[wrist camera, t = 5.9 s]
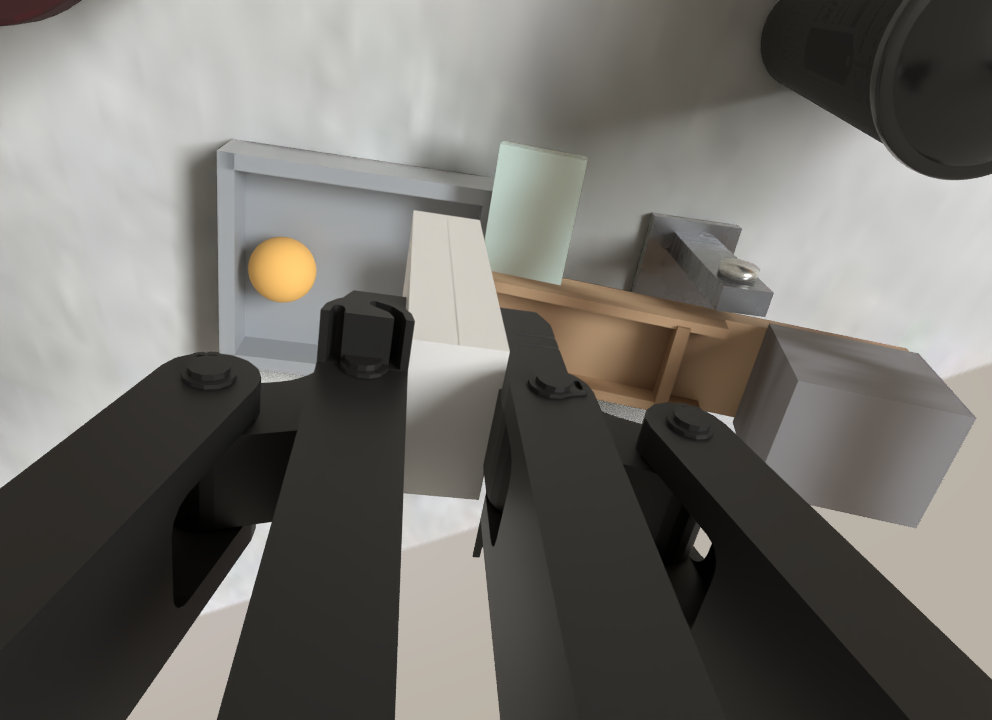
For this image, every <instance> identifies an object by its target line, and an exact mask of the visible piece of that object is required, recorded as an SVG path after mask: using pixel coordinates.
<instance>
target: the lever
mask: <svg viewBox="0 0 992 720" xmlns="http://www.w3.org/2000/svg"><path fill="white" fill-rule="evenodd" d="M587 162H588V157H586V156H580V155H575V154H570V153H565V152H560V151H555V150H550V149H545V148H539V147H534V146H529V145H524V144H519V143H514V142H509V141H504V140H503V141H502V142H501V144H500V148H499V154H498V161H497V167H496V173H495V179H494V185H493V191H492V198H491V204H490V210H489V216H488V222H487V229H486V235H485V245H486V250H487V254H488V258H489V263H490V267H491V271H492V276H493V280H494V285H495V289H496V293H497V298H498V302H499V306H500V307H501V308H508V309H516V310H523V311H531V312H536V313H538V314H539V315H540V316H541V317H542V318H543V319H544V320H546V321H547V322H548V323H549V324H550V325H551V328H552V330H553V333H554V336H555V340H556V341H557V344H558V347H559V350H560V352H561V355H562V358H563V361H564V363H565V366H566V369H567V372H568V373H569V374H571V375H574V376H576V377H578V378H579V379H581V380H582V381H584V382H585V383H587V384H588V385H589V387H590V388H591V389H592V391H593V392H594V394H595V397H596V399H598V400H603V401H607V402H612V403H617V404H621V405H626V406H631V407H635V408H640V409H645V410H647V409H648V408H650V407H651V406H652V405H654V404H659V403H665V402H668V403H685V404H689V406H691V405H693V406H696V407H699V408H701V409H702V410H703V411H707V412H712V413H717V414H721V415H726V416H731V417H735V418H734V420H733V425H734V428H735V432H736V435H737V436H738V437H739V438H740V439H741V440H742V441H743V442H744V443H745V444H746V445H748V446H749V447H750V448H751V449H752V450H753V451H754V452H755V453H756V454H757V455H758V456H759V457H760V458H761V459H762V460H763V461H764V462H765V463H766V464H767V465H768V466H769V467H770V468H772V469H773V470H774V471H775V472H776V473H777V474H778V475H779V476H780V477H781V478H782V479H783V480H784V481H785V482H786V483H787V484H788V485H789V486H790V487H791V488H792V489H793V490H795V491H796V492H797V493H798V494H799V495H800V496H801V497H802V498H803V499H804V500H805V501H806V502H807V503H808V504H809V505H813V506H817V507H822V508H827V509H831V510H836V511H840V512H845V513H849V514H854V515H859V516H863V517H867V518H872V519H877V520H881V521H886V522H890V523H895V524H899V525H904V526H908V527H913V528H917V526H918V524H919V522H920V520H921V518H922V517H923V515H924V512H925V511H926V509H927V507H928V506H929V504H930V502H931V500H932V498H933V496H934V494H935V493H936V490H937V489H938V487H939V485H940V484H941V482H942V480H943V478H944V476H945V474H946V473H947V471H948V469H949V467H950V465H951V463H952V462H953V460H954V458H955V456H956V454H957V452H958V451H959V449H960V447H961V445H962V443H963V441H964V440H965V438H966V436H967V434H968V432H969V430H970V429H971V426H972V425H973V423H974V421H975V419H976V417H975V416H974V415H973V414H972V413H971V412H970V410H969V409H968V408H967V407H966V406H965V405H964V404H963V403H962V402H961V400H960V399H959V398H958V397H957V396H956V395H955V394H954V393H953V391H952V390H951V389H950V388H949V387H948V386H947V385H946V384H945V383H944V381H943V380H942V379H941V378H940V377H939V376H938V375H937V374H936V372H935V371H934V370H933V369H932V368H931V367H930V366H929V365H928V363H927V362H926V361H925V360H924V359H923V358H922V357H921V356H920V355H919V354H918V353H913V352H909V351H908V350H907V349H906V348H901V347H896V346H891V345H886V344H882V343H877V342H872V341H867V340H862V339H857V338H852V337H848V336H843V335H838V334H833V333H828V332H823V331H818V330H813V329H809V328H804V327H799V326H794V325H789V324H784V323H779V322H775V321H770V320H765V319H760V318H755V317H750V316H745V315H740V314H736V313H731V312H724V311H716V310H715V309H711V308H706V307H702V306H697V305H692V304H687V303H682V302H677V301H672V300H667V299H663V298H658V297H653V296H648V295H643V294H638V293H633V292H629V291H624V290H619V289H614V288H609V287H604V286H599V285H594V284H590V283H585V282H580V281H575V280H570V279H565V278H562V277H563V272H564V267H565V263H566V258H567V254H568V249H569V244H570V240H571V235H572V231H573V226H574V221H575V217H576V212H577V208H578V203H579V198H580V194H581V189H582V185H583V180H584V175H585V171H586V166H587Z"/></svg>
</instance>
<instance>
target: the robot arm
mask: <svg viewBox="0 0 992 720" xmlns="http://www.w3.org/2000/svg"><path fill="white" fill-rule="evenodd" d="M483 477H485V485H486V496H485V501H484V505H483V510H482V515H481V519H480V524H479V529H478V533H477V538H476V543H475V547H474V552H473V557H480V553H481V549H482V547H483V549H484V559H485V570H486V580H487V589H488V600H489V609H490V620H491V630H492V639H493V651H494V661H495V671H496V680H497V691H498V701H499V711H500V720H992V679H991V678H990V677H989V676H988V675H987V674H986V673H984V672H983V671H982V670H981V669H980V668H979V667H978V666H977V665H976V664H975V663H974V662H973V661H972V660H971V659H970V658H969V657H968V656H967V655H966V654H965V653H964V652H963V651H961V650H960V649H959V648H958V647H957V646H956V645H955V644H954V643H953V642H952V641H951V640H950V639H949V638H948V637H947V636H946V635H945V634H944V633H943V632H942V631H941V630H940V629H939V628H938V627H937V626H935V625H934V624H933V623H932V622H931V621H930V620H929V619H928V618H927V617H926V616H925V615H924V614H923V613H922V612H921V611H920V610H919V609H918V608H917V607H916V606H915V605H914V604H912V603H911V602H910V601H909V600H908V599H907V598H906V597H905V596H904V595H903V594H902V593H901V592H900V591H899V590H898V589H897V588H896V587H895V586H894V585H893V584H892V583H891V582H890V581H888V580H887V579H886V578H885V577H884V576H883V575H882V574H881V573H880V572H879V571H878V570H877V569H876V568H875V567H874V566H873V565H872V564H871V563H870V562H869V561H868V560H867V559H866V558H864V557H863V556H862V555H861V554H860V553H859V552H858V551H857V550H856V549H855V548H854V547H853V546H852V545H851V544H850V543H849V542H848V541H847V540H846V539H845V538H843V536H841V535H840V534H839V533H838V532H837V531H836V530H835V529H834V528H833V527H832V526H831V525H830V524H829V523H828V522H827V521H826V520H825V519H824V518H823V517H822V516H821V515H820V514H819V513H817V512H816V511H815V510H814V509H813V508H812V507H811V506H810V505H809V504H808V503H807V502H806V501H805V500H804V499H803V498H802V497H801V496H800V495H799V494H798V493H797V492H796V491H795V490H793V489H792V488H791V487H790V486H789V485H788V484H787V483H786V482H785V481H784V480H783V479H782V478H781V477H780V476H779V475H778V474H777V473H776V472H775V471H774V470H773V469H772V468H770V467H769V466H768V465H767V464H766V463H765V462H764V461H763V460H762V459H761V458H760V457H759V456H758V455H757V454H756V453H755V452H754V451H753V450H752V449H751V448H750V447H749V446H748V445H746V444H745V443H744V442H743V441H742V440H741V439H740V438H739V437H738V436H737V435H736V434H735V433H734V432H733V431H732V430H731V429H730V428H729V427H728V426H727V425H726V424H724V423H723V422H722V421H720V420H719V419H717V418H716V417H715V416H713V415H711V414H709V413H707V412H705V411H703V410H702V409H701V408H699V407H696V406H693V405H691V406H689V404H685V403H668V402H665V403H659V404H654V405H652V406H651V407H650V408H648V409H647V410H646V413H645V417H644V420H643V423H642V424H639V423H636V422H633V421H629V420H626V419H622V418H619V417H616V416H613V415H610V414H607V413H604V412H602V411H601V409H600V406H599V404H598V402H597V399H596V397H595V394H594V392H593V391H592V389H591V388H590V387H589V385H588V384H587V383H585V382H584V381H582V380H581V379H579V378H578V377H576V376H574V375H571V374H569V373H568V372H567V369H566V366H565V363H564V361H563V358H562V355H561V352H560V350H559V347H558V344H557V341H556V340H555V336H554V333H553V330H552V328H551V325H550V324H549V323H548V322H547V321H546V320H544V319H543V318H542V317H541V316H540V315H539V314H538V313H536V312H531V311H523V310H516V309H508V308H501V307H500V306H499V302H498V298H497V293H496V289H495V285H494V280H493V276H492V271H491V267H490V263H489V258H488V254H487V250H486V245H485V241H484V236H483V232H482V228H481V223H480V220H475V219H469V218H462V217H456V216H449V215H442V214H436V213H429V212H422V211H416V210H414V211H413V219H412V227H411V234H410V242H409V250H408V257H407V265H406V273H405V280H404V288H403V296H394V295H387V294H379V293H371V292H364V291H356V290H353V291H352V292H350V293H349V294H347V295H346V296H344V297H343V298H337V299H335V300H332V301H330V302H327V303H326V304H325V305H324V306H323V307H322V308H321V311H320V324H319V337H318V350H317V362H316V365H315V369H314V372H313V373H311V374H309V375H307V376H305V377H302V378H298V379H295V380H290V381H282V382H271V383H261V376H260V373H259V370H258V368H257V367H256V366H254V365H253V364H252V363H250V362H249V361H247V360H245V359H242V358H239V357H236V356H233V355H227V354H221V353H219V352H207V353H205V352H197V353H193V354H190V355H185V356H181V357H177V358H174V359H172V360H170V361H168V362H166V363H165V364H163V365H161V366H160V367H158V368H157V369H156V370H155V371H153V372H152V373H151V374H149V375H148V376H147V377H145V378H144V379H143V380H141V381H140V382H139V383H138V384H136V385H135V386H134V387H132V388H131V389H130V390H128V391H127V392H126V393H125V394H123V395H122V396H121V397H119V398H118V399H117V400H115V401H114V402H113V403H111V404H110V405H109V406H108V407H106V408H105V409H104V410H102V411H101V412H100V413H98V414H97V415H96V416H94V417H93V418H92V419H91V420H89V421H88V422H87V423H85V424H84V425H83V426H81V427H80V428H79V429H77V430H76V431H75V432H74V433H72V434H71V435H70V436H68V437H67V438H66V439H64V440H63V441H62V442H60V443H59V444H58V445H57V446H55V447H54V448H53V449H51V450H50V451H49V452H47V453H46V454H45V455H43V456H42V457H41V458H40V459H38V460H37V461H36V462H34V463H33V464H32V465H30V466H29V467H28V468H27V469H25V470H24V471H23V472H21V473H20V474H19V475H17V476H16V477H15V478H13V479H12V480H11V481H10V482H8V483H7V484H6V485H4V486H3V487H2V488H0V720H126V719H127V717H128V716H129V715H130V713H131V712H132V710H133V709H134V707H135V706H136V705H137V703H138V702H139V700H140V699H141V697H142V696H143V695H144V693H145V692H146V690H147V689H148V687H149V686H150V685H151V683H152V682H153V680H154V679H155V677H156V676H157V674H158V673H159V672H160V670H161V669H162V667H163V666H164V664H165V663H166V662H167V660H168V659H169V657H170V656H171V654H172V653H173V651H174V650H175V649H176V647H177V645H178V644H179V643H180V642H181V640H182V639H183V637H184V636H185V634H186V633H187V631H188V630H189V628H190V627H191V626H192V624H193V623H194V621H195V620H196V619H197V617H198V616H199V614H200V613H201V611H202V610H203V608H204V607H205V606H206V604H207V603H208V601H209V600H210V598H211V597H212V596H213V594H214V593H215V591H216V590H217V588H218V587H219V586H220V584H221V583H222V581H223V580H224V578H225V577H226V575H227V574H228V573H229V571H230V570H231V568H232V567H233V565H234V564H235V563H236V561H237V560H238V558H239V557H240V555H241V554H242V552H243V551H244V550H245V548H246V547H247V545H248V544H249V542H250V541H251V539H252V537H253V534H254V531H255V529H256V524H260V523H267V522H272V523H271V527H270V531H269V534H268V538H267V541H266V545H265V549H264V552H263V556H262V559H261V563H260V566H259V570H258V574H257V577H256V581H255V584H254V588H253V592H252V595H251V599H250V602H249V606H248V610H247V613H246V617H245V621H244V624H243V628H242V631H241V635H240V638H239V642H238V645H237V649H236V653H235V657H234V660H233V663H232V667H231V671H230V675H229V678H228V682H227V685H226V689H225V692H224V696H223V699H222V703H221V707H220V710H219V714H218V717H217V720H395V700H396V673H397V647H398V620H399V593H400V568H401V542H402V515H403V493H408V494H419V495H430V496H442V497H453V498H464V499H476V500H479V496H480V491H481V487H482V482H483ZM700 527H701V528H702V529H703V530H704V532H705V533H706V534H707V536H708V537H709V539H710V540H711V542H712V545H711V547H710V550H709V552H708V554H707V556H706V557H705V559H704V558H703V557H702V556H701V555H700V554H699V553H698V551H697V550H696V549H695V547H694V546H693V545H694V542H695V539H696V537H697V534H698V532H699V529H700Z"/></svg>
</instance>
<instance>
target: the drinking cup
mask: <svg viewBox="0 0 992 720" xmlns="http://www.w3.org/2000/svg"><path fill="white" fill-rule="evenodd" d="M761 53H762V58H763V62H764V64H765V67H766V69H767V70H768V72H769V73H770V75H771V76H772V77H773V78H774V79H775V80H777V81H778V82H780V83H781V84H783V85H785V86H786V87H788V88H790V89H791V90H793V91H795V92H796V93H798V94H800V95H801V96H803V97H805V98H807V99H808V100H810V101H812V102H813V103H815V104H817V105H818V106H820V107H822V108H823V109H825V110H827V111H829V112H830V113H832V114H834V115H835V116H837V117H839V118H840V119H842V120H844V121H846V122H847V123H849V124H851V125H852V126H854V127H856V128H857V129H859V130H861V131H862V132H864V133H866V134H868V135H869V136H871V137H873V138H874V139H876V140H878V141H879V142H881V143H883V144H884V145H885V147H886V148H887V150H888V151H889V152H890V153H891V154H892V155H893V156H894V157H895V158H896V159H897V160H898V161H899V162H900V163H902V164H903V165H905V166H906V167H908V168H910V169H912V170H914V171H915V172H918V173H920V174H923V175H926V176H929V177H932V178H937V179H943V180H967V179H973V178H978V177H982V176H986V175H990V174H992V0H780V1H779V2H778V3H777V4H776V5H775V7H774V8H773V10H772V11H771V13H770V15H769V16H768V18H767V21H766V23H765V26H764V29H763V33H762V39H761Z"/></svg>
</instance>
